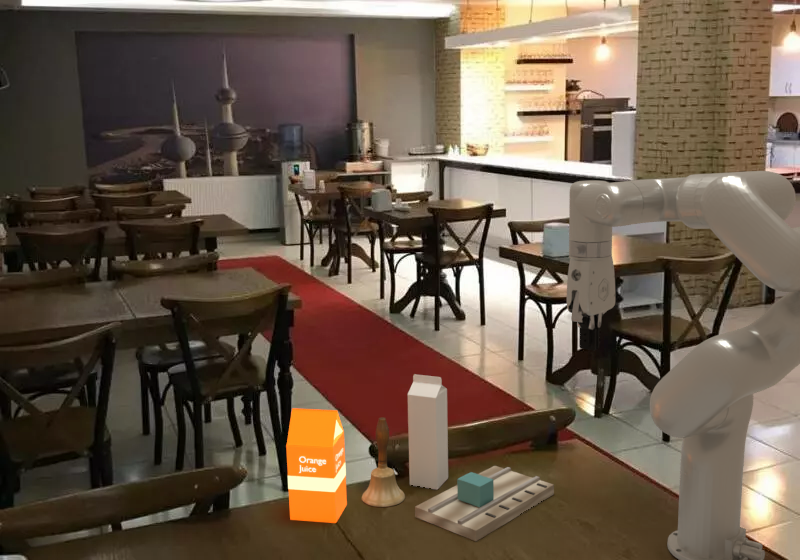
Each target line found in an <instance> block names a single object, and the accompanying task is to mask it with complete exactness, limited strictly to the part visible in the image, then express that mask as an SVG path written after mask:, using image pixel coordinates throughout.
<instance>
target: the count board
mask: <svg viewBox="0 0 800 560" xmlns="http://www.w3.org/2000/svg"><path fill="white" fill-rule="evenodd" d="M478 474H479V475H482V476H485V477H488V478H491V479H493V484H494V500H493V501H491V502H489V503H487V504H486V505H484V506H482V507H477V506H475V505H472V504H469V503H466V502H464V501H461V500H458V489H457V484H456V485H454V486H452V487H450V488H448V489H447V490H445V491H442V492H441V493H439V494H436V495H435V496H433V497H431V498H429V499H427V500H424V501H423V502H422V503H421V502H420V504H417V505H416V506H414V517H415V518H417V519H419V520H422V521H424V522H427V523H428V524H429V523H430V524H432V525H434V526H436V527H439V528H442V529H444V530H447V531H450V532H452V533H454V534H457V535H459V536H461V537H464V538H466V539H469V540H472V541H474V542H478V541H479V540H481V539H482V538H484V537H486V536H487V535H489V534H491V533H492V532H494V531H495V530H497V529H499V528H501V527H502V526H504V525H505V524H508V523H509V522H510V521H512V520H514V519H516V518H517V517H519V516H520V514H521V513H522V514H524V513H525V512H524V511H526V510H527V511H529V510H530V509H532V508H533V506H534V507H535V506H537V505H539V504H540V503H542V502H544V501H546V500H547V499H549V498H551V497H553V496H554V495H555V484H554V483H550V482H547V481H544V480H541V477H540V476H537V475H535V476H533V477H532V476H528V475H525V474H522V473H519V472H516V471H513V470H512V468H511V467H509V466H506V467H505V468H504V467H500V466H497V465H493V466H491V467H490V468H487V469H485V470H483V471H481V472H479V473H478ZM543 500H544V501H543ZM541 501H542V502H541ZM538 503H539V504H538ZM531 507H532V508H531ZM528 509H529V510H528ZM527 511H526V512H527ZM523 512H524V513H523ZM522 514H521V515H522Z"/></svg>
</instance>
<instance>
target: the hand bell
mask: <svg viewBox="0 0 800 560" xmlns="http://www.w3.org/2000/svg"><path fill="white" fill-rule="evenodd" d="M375 441H376V446H377V449H378V457H377V459H378V460H377V462H378V463H377V467H376V468H374V469H372V470H371V472H370V479H369V484H368V487H367V488H366V490H364V492H363V493H362V496H361V501H362V502H363V503H364V504H366V505H367V506H368V505H369V506H371V507H378V508H388V507H393V506H394V507H395V506H396V505H398V504H399V505H400V504H401V503H402V502H403V501H404V500H405V498H406V494H405V493H404V491H403V490H402V489H400V487H399V486H398V484H397V480H396V479H397V478H396V475H395V471H394V469H393V468H390V467H388V451H387V450H388V445H389V442H390V429H389V426H388V423H387V419H386V417H378V421H377V425H376V429H375Z"/></svg>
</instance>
